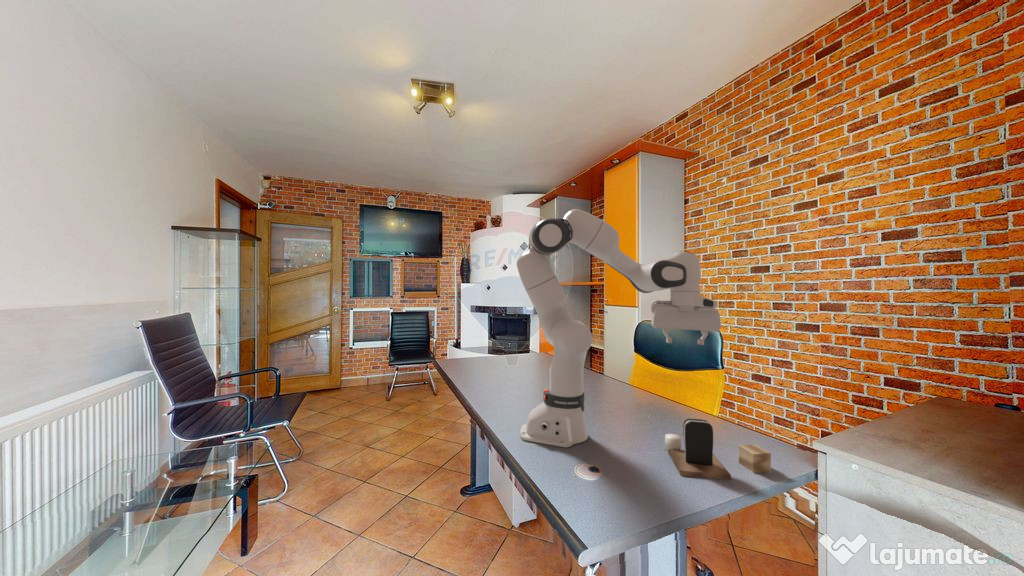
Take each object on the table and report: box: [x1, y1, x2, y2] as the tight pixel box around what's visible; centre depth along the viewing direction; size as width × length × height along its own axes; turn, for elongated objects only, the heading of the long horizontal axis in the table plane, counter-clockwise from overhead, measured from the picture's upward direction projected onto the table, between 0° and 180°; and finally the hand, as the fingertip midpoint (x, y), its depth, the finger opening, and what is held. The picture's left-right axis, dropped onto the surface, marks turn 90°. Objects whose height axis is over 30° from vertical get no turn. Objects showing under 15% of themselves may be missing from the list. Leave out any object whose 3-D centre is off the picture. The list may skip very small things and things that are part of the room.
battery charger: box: [682, 418, 714, 465], centre depth 93 cm, size 7×4×11 cm, turn 75°
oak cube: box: [738, 444, 772, 473], centre depth 92 cm, size 5×5×5 cm
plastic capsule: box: [664, 433, 682, 452], centre depth 102 cm, size 4×4×4 cm
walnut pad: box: [667, 449, 732, 481], centre depth 93 cm, size 12×12×1 cm
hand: (684, 343), depth 110 cm, fingers open, 8 cm apart
